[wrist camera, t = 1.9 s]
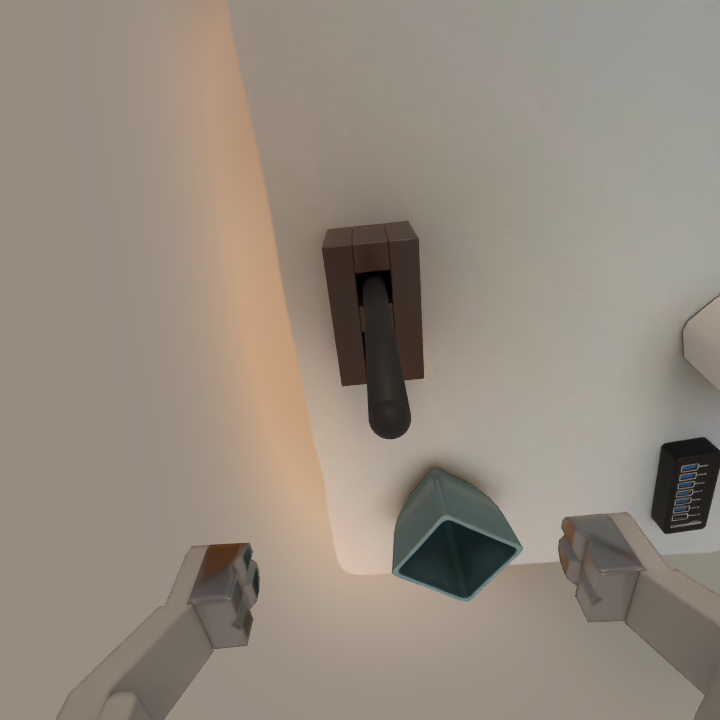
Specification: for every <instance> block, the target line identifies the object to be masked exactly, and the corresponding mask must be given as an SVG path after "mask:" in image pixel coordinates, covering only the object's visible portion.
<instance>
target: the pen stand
mask: <svg viewBox="0 0 720 720" xmlns="http://www.w3.org/2000/svg"><path fill="white" fill-rule="evenodd" d="M322 252H323V259H324V266H325V273H326V280H327V286H328V293H329V300H330V307H331V314H332V321H333V328H334V335H335V342H336V348H337V355H338V362H339V369H340V376H341V383H342V386H350V385H360V384H367V371H366V349H365V328H364V306H363V285H362V281H359V282H358V274H357V273H365V272H375V271H384V270H387V279H384V281H385V286H386V291H387V296H388V301H389V306H390V312H391V317H392V322H393V327H394V332H395V337H396V342H397V347H398V352H399V357H400V362H401V367H402V372H403V378H404V380H412V379H423V378H424V363H423V338H422V313H421V287H420V262H419V238H418V236H417V235H416V233H415V231H414V230H413V228H412V226H411V225H410V223H409V221H403V222H394V223H385V224H376V225H367V226H357V227H353V228H352V227H348V228H339V229H330V230H327V233H326V236H325V240H324V243H323V247H322Z"/></svg>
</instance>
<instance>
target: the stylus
mask: <svg viewBox="0 0 720 720" xmlns="http://www.w3.org/2000/svg"><path fill="white" fill-rule="evenodd" d="M362 285H363V306H364V328H365V349H366V371H367V393H368V414H369V423H370V426H371V428H372V430H373V431H374V432H375V433H376V434H377V435H378V436H380V437H382V438H385V439H395V438H398V437H400V436H402V435H403V434H405V432H406V431H407V430H408V428H409V426H410V423H411V413H410V408H409V403H408V398H407V393H406V388H405V383H404V378H403V372H402V367H401V362H400V357H399V352H398V347H397V342H396V337H395V332H394V327H393V322H392V317H391V312H390V306H389V301H388V296H387V291H386V286H385V281H384V276H383V271H375V272H365V273H362Z"/></svg>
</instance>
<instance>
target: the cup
mask: <svg viewBox="0 0 720 720" xmlns="http://www.w3.org/2000/svg"><path fill="white" fill-rule="evenodd" d="M683 346H684V358H685V359H686V360H687V361H688V362H689V363H690V364H692V365H693V366H694V367H695V368H696V369H697V370H698V371H699V372H700V373H701V374H702V375H703V376H704V377H705V378H706V379H707V380H709V381H710V382H711V383H712V384H713V385H714V386H715V387H716V388H717V389H718V390H719V391H720V296H719V297H717V298H716V299H715V300H713V301H712V302H711V303H710V304H708V305H707V306H706V307H705V308H704V309H702V310H701V311H700V312H699V313H697V314H696V315H695V316H694V317H693V318H691V319H690V320H689V321H688V322H687V324H686V326H685V328H684V330H683Z"/></svg>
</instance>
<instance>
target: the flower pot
mask: <svg viewBox="0 0 720 720" xmlns="http://www.w3.org/2000/svg"><path fill="white" fill-rule="evenodd" d="M522 550H523V547H522V546H521V544H520V542H519V540H518V539H517V537H516V535H515V534H514V532H513V530H512V528H511V527H510V525H509V523H508V522H507V520H506V518H505V517H504V515H503V513H502V512H501V510H500V509H499V508H498V506H497V505H496V504H495V503H494V502H493V501H492V500H491V499H490V498H489V497H488V496H487V495H486V494H484V493H483V492H482V491H480V490H479V489H477V488H476V487H474V486H473V485H471V484H469V483H467V482H465V481H463V480H460V479H458V478H456V477H454V476H451V475H449V474H447V473H445V472H443V471H441V470H438V469H432V470H431V471H430V472H429V473H428V474H427V476H426V477H425V478H424V479H423V481H422V482H421V483H420V484H419V485H418V487H417V488H416V489H415V490H414V491H413V492H412V494H411V495H410V496H409V498H408V499H407V501H406V502H405V504H404V506H403V508H402V510H401V512H400V514H399V516H398V519H397V522H396V526H395V532H394V545H393V566H392V574H394V575H395V576H397V577H400V578H402V579H405V580H407V581H410V582H413V583H416V584H419V585H422V586H425V587H427V588H430V589H433V590H435V591H437V592H440V593H443V594H445V595H448V596H451V597H453V598H456V599H458V600H461V601H470V600H471V599H472V598H474V596H475V595H477V594H478V593H479V592H480V591H481V590H482V589H483V588H484V587H485V586H486V585H487V584H488V583H489V582H490V581H491V580H492V579H493V578H494V577H495V576H496V575H497V574H498V573H499V572H501V571H502V570H503V569H504V568H505V567H506V566H507V565H508V564H509V563H510V562H511V561H512V560H513V559H515V558H516V557H517V556H518V555H519V554H520V553H521V552H522Z"/></svg>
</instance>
